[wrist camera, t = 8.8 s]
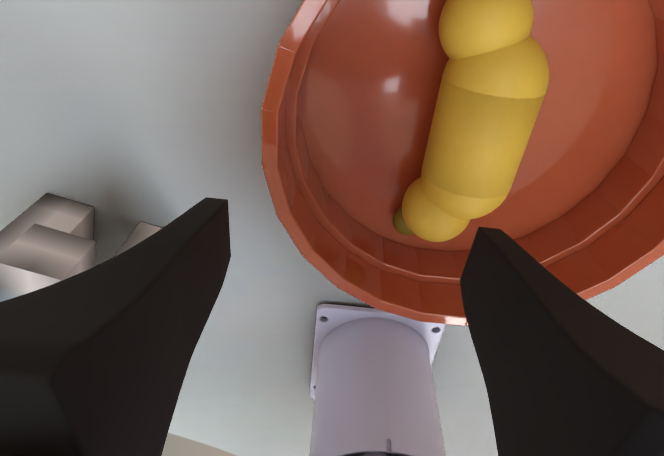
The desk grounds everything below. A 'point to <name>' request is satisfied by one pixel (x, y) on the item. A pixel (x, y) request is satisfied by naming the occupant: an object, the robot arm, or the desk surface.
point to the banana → (477, 116)
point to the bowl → (413, 132)
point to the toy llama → (52, 245)
